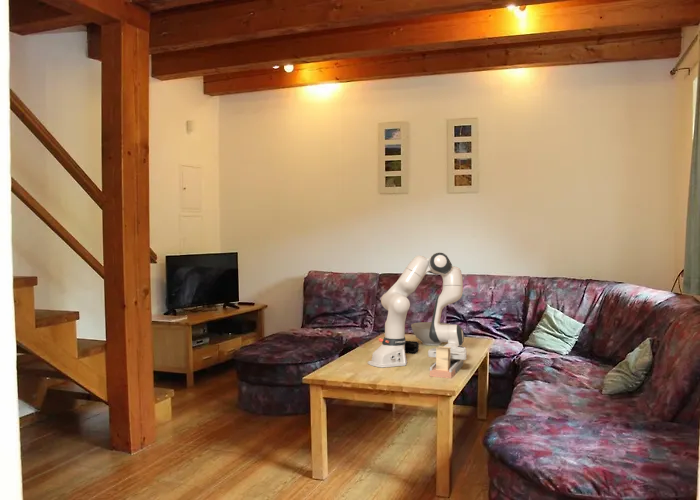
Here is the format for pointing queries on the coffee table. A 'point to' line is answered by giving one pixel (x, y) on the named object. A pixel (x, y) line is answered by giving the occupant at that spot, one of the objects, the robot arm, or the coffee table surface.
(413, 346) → the end cap
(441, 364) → the block
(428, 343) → the decorative bowl
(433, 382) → the coffee table surface
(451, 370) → the lane
